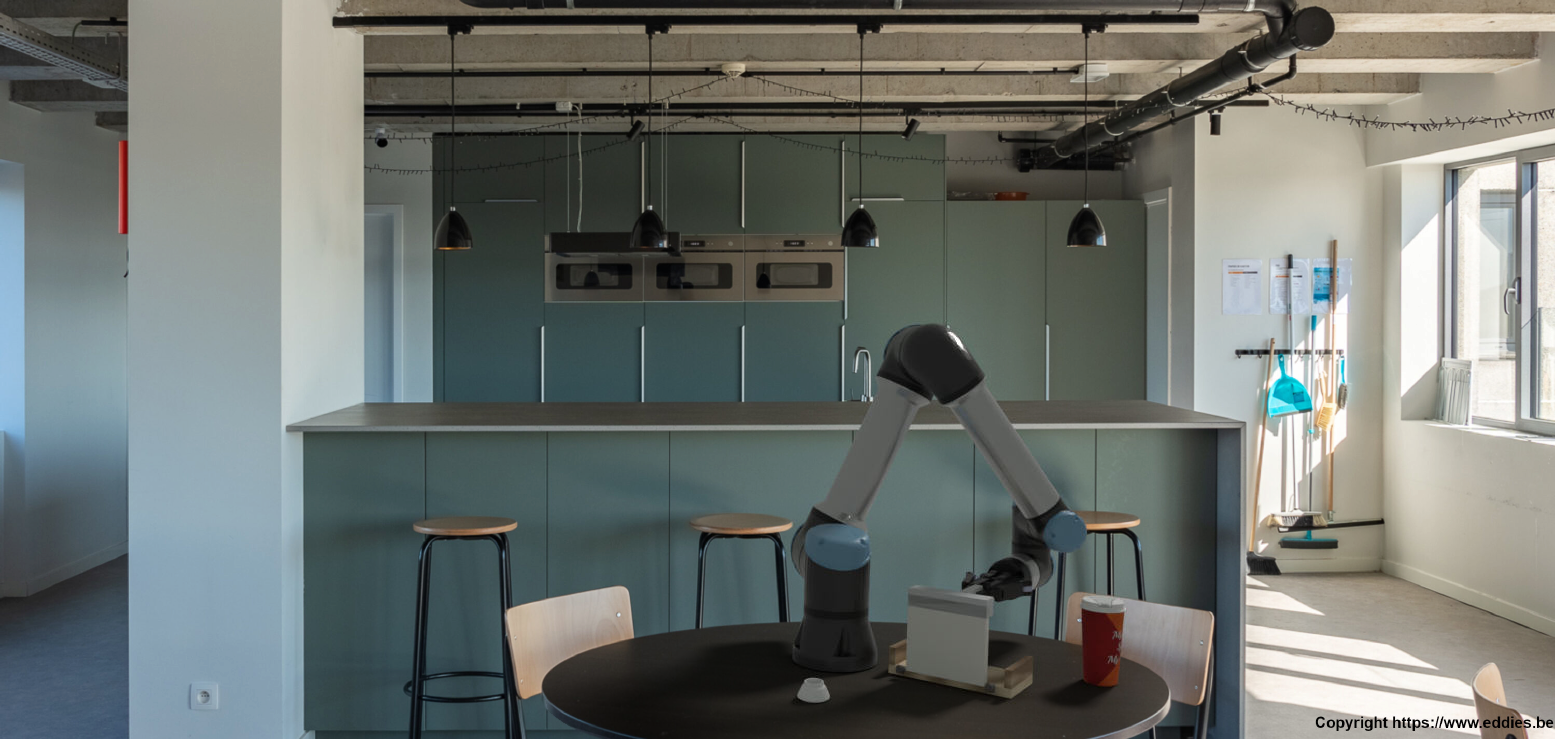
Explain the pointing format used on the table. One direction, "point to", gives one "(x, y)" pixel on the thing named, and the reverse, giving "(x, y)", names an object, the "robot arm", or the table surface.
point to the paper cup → (1102, 639)
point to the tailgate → (948, 634)
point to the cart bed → (997, 684)
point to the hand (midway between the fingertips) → (963, 599)
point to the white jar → (813, 691)
